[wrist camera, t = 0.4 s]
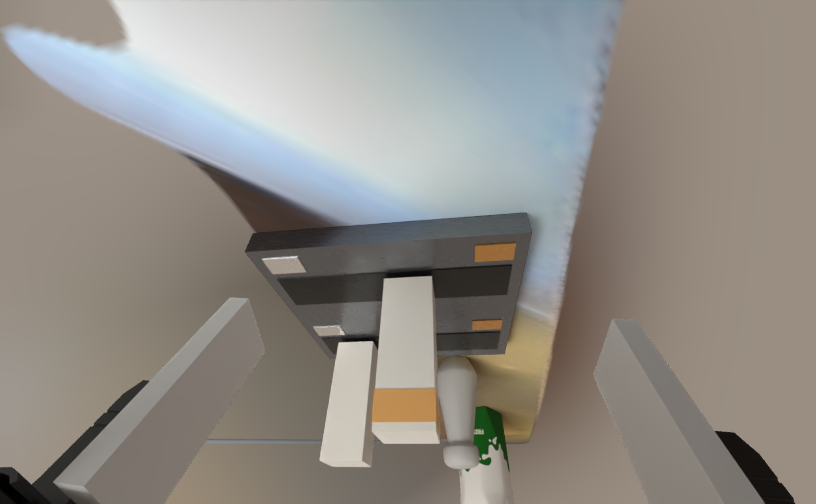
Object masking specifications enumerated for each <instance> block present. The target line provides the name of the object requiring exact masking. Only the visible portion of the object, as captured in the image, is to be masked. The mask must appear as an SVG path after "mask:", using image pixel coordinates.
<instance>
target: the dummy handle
mask: <svg viewBox="0 0 816 504" xmlns="http://www.w3.org/2000/svg"><path fill="white" fill-rule="evenodd" d="M377 359H378V350H377V348H376V346H375V344H374V342H373V341H365V342H339V343H338V349H337V355H336V361H335V368H334V374H333V381H332V386H331V392H330V399H329V405H328V411H327V417H326V424H325V430H324V436H323V442H322V448H321V454H320V461H322V462H324V463H326V464H329V465H330V466H332V467H371V465H372V452H373V439H374V433H373V432H372V422H371V421H372V409H373V397H374V389H375V383H376V371H377Z"/></svg>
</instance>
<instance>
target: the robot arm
mask: <svg viewBox="0 0 816 504" xmlns="http://www.w3.org/2000/svg"><path fill="white" fill-rule="evenodd" d="M264 352H265V348H264V345H263V342H262V339H261V336H260V333H259V330H258V327H257V324H256V321H255V318H254V315H253V312H252V308H251V305H250V302H249V299H244V298H229V299H228V300H227V301H226V302H225V303H224V305H222V307H221V308H220V309H219V310H218V311H217V312H216V313H215V314H214V315H213V316H212V317H211V318H210V319H209V320H208V321H207V322H206V323H205V324H204V325H203V326H202V327H201V328H200V329H199V330H198V331H197V333H196V334H195V335H194V336H193V337H192V338H191V339H190V340H189V341H188V342H187V343H186V344H185V345H184V346H183V347H182V348H181V349H180V350H179V351H178V352H177V354H175V355H174V356H173V358H172V359H171V360H170V361H169V362H168V363H167V364H166V365H165V366H164V367H163V368H162V369H161V370H160V371H159V372H158V373H157V374H156V375H155V376H154V377H153V378H152V379H151V381H145V380H143V381H142V382H140V383H139V384H137V385H136V386H134V387H133V388H131V389H130V390H128V391H127V392H125V393H124V394H123V395H122V396H121V397H120V398H119V399H118V400H117V401H116V402H115V403H114V404H113V405H112V406H111V407H110V408H109V409H108V411H107V413H104V414H103V415H102V416H101V417H100V418H99V419H98V420H97V421H96V422H95V423H94V426H93V427H90V428H89V429H88V430H87V431H86V432H85V433H84V434H83V435H82V436H81V437H80V438H79V439H78V440H77V441H76V442H75V443H74V444H73V445H72V446H71V447H70V448H69V449H68V450H67V451H66V452H65V453H64V454H63V455H62V456H61V457H60V458H59V459H58V460H57V461H56V462H55V463H54V464H53V465H52V466H51V467H50V468H49V469H48V470H47V471H46V472H45V473H44V474H43V475H42V476H41V477H40V478H38V479H37V480H36V481H35V482H34V483H33V484H32V485H31V484H30V483H29V482H28V481H27V480H26V479H25V478H23V476H22V475H20V474H19V473H18V472H17V471H16V470H15V469H13V468H12V467H1V468H0V504H165V502H166V501H167V499H168V498H169V496H170V495H171V493H172V492H173V490H174V488H175V487H176V485H177V484H178V482H179V481H180V479H181V478H182V476H183V475H184V473H185V472H186V470H187V469H188V467H189V466H190V464H191V463H192V461H193V460H194V458H195V456H196V455H197V454H198V452H199V451H200V449H201V448H202V446H203V444H204V443H205V442H206V440H207V439H208V437H209V435H210V434H211V433H212V431H213V429H214V428H215V426H216V425H217V423H218V422H219V420H220V419H221V417H222V416H223V414H224V413H225V411H226V410H227V408H228V407H229V405H230V404H231V402H232V401H233V399H234V398H235V396H236V395H237V393H238V392H239V390H240V389H241V387H242V386H243V384H244V383H245V381H246V380H247V378H248V377H249V375H250V373H251V372H252V370H253V369H254V367H255V366H256V364H257V363H258V361H259V360H260V358H261V357H262V355H263V354H264ZM593 376H594V379H595V381H596V383H597V386H598V388H599V390H600V393H601V395H602V397H603V400H604V402H605V404H606V406H607V409H608V411H609V413H610V415H611V418H612V420H613V422H614V425H615V427H616V429H617V432H618V434H619V436H620V438H621V440H622V443H623V445H624V448H625V450H626V452H627V455H628V457H629V459H630V462H631V464H632V466H633V468H634V470H635V473H636V475H637V478H638V480H639V482H640V484H641V487H642V489H643V491H644V494H645V496H646V498H647V501H648V503H649V504H795V503H794V499H793V497H792V496H791V495H790V493H789V492H788V491H787V490H786V488H785V487H784V486H783V484H782V483H779V482H778V478H777V477H776V475H775V474H774V473H773V472H772V470H771V469H770V468H769V466H768V465H767V464H766V462H765V461H764V460H763V458H762V457H761V456H760V454H759V453H757V452H756V451H755V450H754V449H753V448H751V447H750V446H749V445H748V444H747V443H746V442H745V441H743V440H742V439H741V438H740V437H739V436H738V435H736V434H735V433H732V432H721V431H714V430H713V428H712V427H711V425H710V424H709V423H708V421H707V420H706V418H705V417H704V415H703V414H702V413H701V411H700V410H699V408H698V407H697V405H696V404H695V403H694V401H693V400H692V398H691V397H690V395H689V394H688V392H687V391H686V390H685V388H684V387H683V385H682V384H681V382H680V381H679V380H678V378H677V377H676V375H675V374H674V372H673V371H672V370H671V368H670V367H669V365H668V364H667V362H666V361H665V360H664V358H663V357H662V355H661V354H660V352H659V351H658V350H657V348H656V347H655V345H654V344H653V342H652V341H651V339H650V338H649V337H648V335H647V334H646V332H645V331H644V329H643V328H642V327H641V326H640V324H639V322H638V321H637V320H627V319H612V322H611V324H610V327H609V330H608V333H607V336H606V339H605V342H604V345H603V348H602V351H601V354H600V357H599V360H598V362H597V365H596V368H595V371H594V374H593Z"/></svg>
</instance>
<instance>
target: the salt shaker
mask: <svg viewBox="0 0 816 504" xmlns="http://www.w3.org/2000/svg"><path fill="white" fill-rule="evenodd" d="M437 374H438V393H439V398H440V403H441V407H442V412H443V417H444V423H445V428H446V433H447V438H448V443H449V444H448V445H446V446H445V447H444V461H445V463H446V464H447V465H448V466H449V467H451V468H454V469H471V468H474V467H477V465H478V464H479V458H480V456H479V450H478V448H477V446H475V445H473V441H474V426H475V411H476V395H477V380H478V379H477V374H476V371H475V370H474V368H473V367H472V365H471V363H470V361H469V360H468V359H467V358H466V357H462V356H450V357H446V358H442V361H441V364H440V366H439V368H438V370H437Z"/></svg>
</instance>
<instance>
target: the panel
mask: <svg viewBox="0 0 816 504" xmlns="http://www.w3.org/2000/svg"><path fill="white" fill-rule="evenodd" d="M531 235H532V230H531V227H530V223H529V220H528V216H527V213H515V214H502V215H489V216H476V217H463V218H449V219H436V220H423V221H410V222H397V223H383V224H370V225H357V226H344V227H331V228H317V229H304V230H291V231H278V232H265V233H253V234H252V236H251V238H250V241H249V244H248V246H247V248H246V250H245V253H246V254H247V256H248V257H249V258H250V259H251V261H252V262H253V263H254V264H255V266H256V267H257V268H258V269H259V271H260V272H261V273H262V274H263V275H264V277H265V278H266V279H267V281H268V282H269V283H270V284H271V286H272V287H273V288H274V290H275V291H276V292H277V293H278V295H279V296H280V297H281V298H282V299H283V301H284V302H285V303H286V305H287V306H288V307H289V308H290V310H291V311H292V312H293V313H294V315H295V316H296V317H297V318H298V320H299V321H300V322H301V323H302V325H303V326H304V327H305V328H306V330H307V331H308V332H309V333H310V334H311V336H312V337H313V338H314V340H315V341H316V342H317V343H318V345H319V346H320V347H321V349H322V350H323V351H324V352H325V353H326V355H327V356H328V357H329V358H330V359H336V355H337V349H338V343H339V342H365V341H373V342H374V344H375V346H376V348H377V350H378V347H379V334H380V322H381V310H382V298H383V285H384V279H387V278H405V277H422V276H432V281H433V289H434V296H435V312H436V343H437V356H458V355H492V354H505V350H506V346H507V341H508V337H509V332H510V328H511V324H512V319H513V315H514V310H515V306H516V301H517V297H518V292H519V288H520V284H521V279H522V275H523V270H524V266H525V261H526V257H527V252H528V248H529V243H530V239H531Z"/></svg>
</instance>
